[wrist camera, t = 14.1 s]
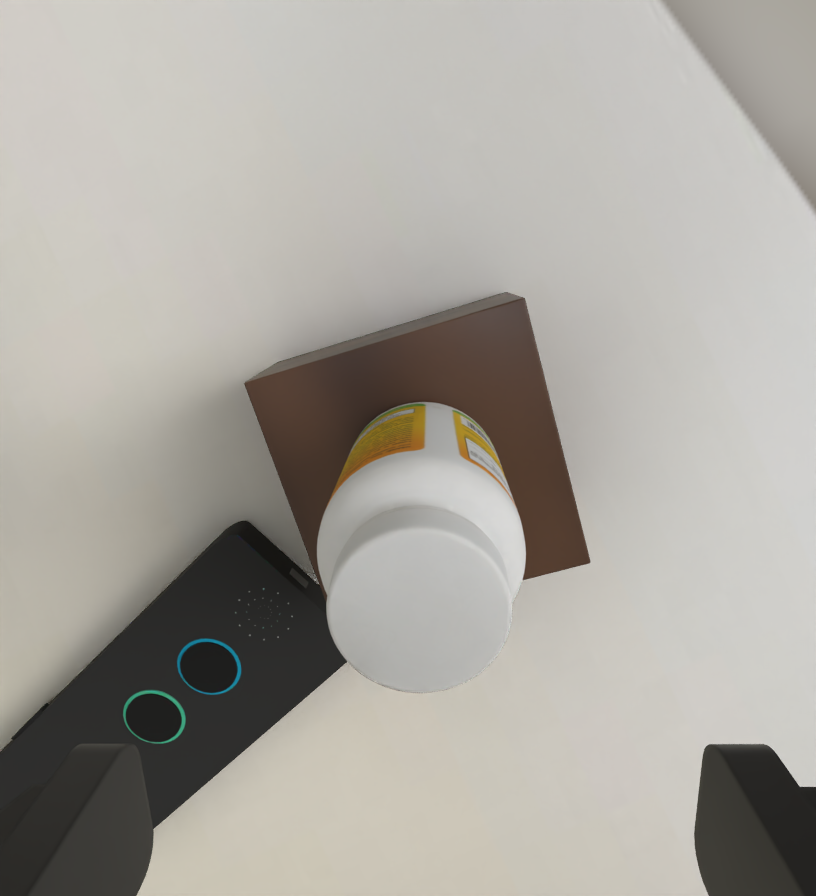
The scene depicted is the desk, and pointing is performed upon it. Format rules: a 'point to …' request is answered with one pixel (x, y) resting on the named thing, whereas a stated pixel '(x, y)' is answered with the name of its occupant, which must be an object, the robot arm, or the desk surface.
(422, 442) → the supplement bottle
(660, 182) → the desk surface
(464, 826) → the desk surface
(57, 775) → the robot arm
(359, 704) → the desk surface
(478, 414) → the walnut block
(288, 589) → the smart home device
